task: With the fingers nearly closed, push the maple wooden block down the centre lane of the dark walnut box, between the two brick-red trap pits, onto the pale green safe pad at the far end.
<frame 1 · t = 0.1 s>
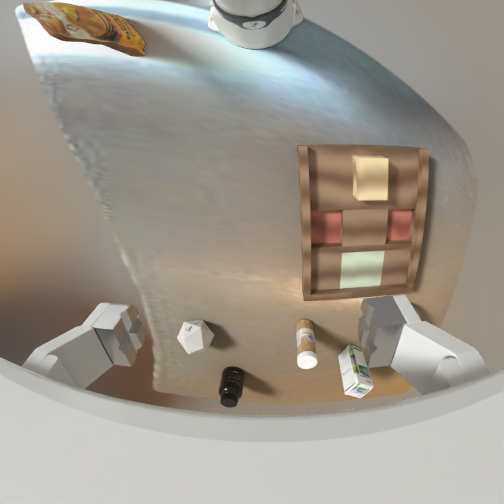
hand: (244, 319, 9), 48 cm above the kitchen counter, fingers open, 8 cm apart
sprinkles bottle: (304, 324, 69), on the kitchen counter
syrup box: (350, 352, 73), on the kitchen counter
pancake mix bag: (125, 38, 42), on the kitchen counter
supplement bottle: (233, 372, 80), on the kitchen counter
maple block: (367, 175, 49), point 2 cm above the kitchen counter, touching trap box
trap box: (362, 221, 56), on the kitchen counter
die: (199, 326, 72), on the kitchen counter
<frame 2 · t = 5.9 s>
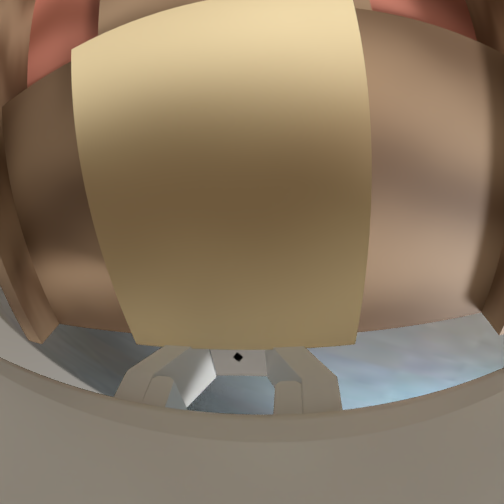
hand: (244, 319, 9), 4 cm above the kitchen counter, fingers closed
maple block: (240, 165, 9), point 3 cm above the kitchen counter
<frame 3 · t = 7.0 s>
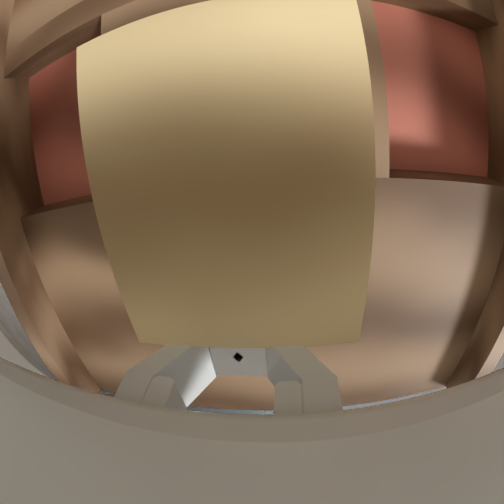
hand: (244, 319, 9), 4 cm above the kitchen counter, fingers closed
maple block: (243, 164, 9), point 3 cm above the kitchen counter, touching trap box
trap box: (243, 90, 10), on the kitchen counter
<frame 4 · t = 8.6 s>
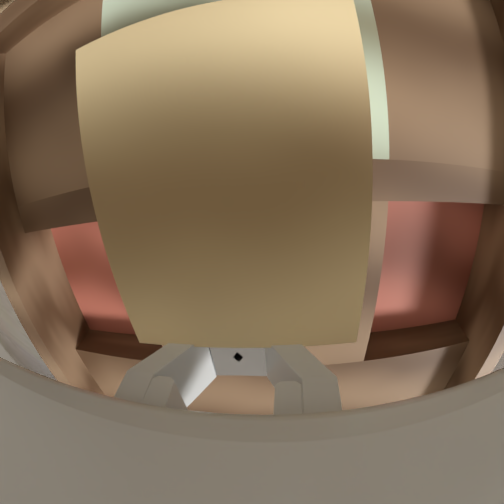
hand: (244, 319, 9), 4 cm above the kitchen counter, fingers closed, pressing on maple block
maple block: (242, 165, 9), point 3 cm above the kitchen counter, touching gripper, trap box
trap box: (261, 281, 14), on the kitchen counter
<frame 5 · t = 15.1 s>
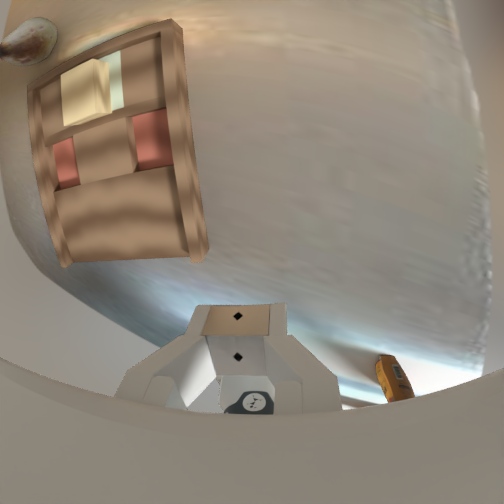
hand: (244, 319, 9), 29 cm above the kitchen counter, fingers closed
pancake mix bag: (393, 370, 50), on the kitchen counter
fruit: (47, 44, 27), on the kitchen counter
maple block: (93, 93, 29), point 2 cm above the kitchen counter, touching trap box
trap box: (109, 153, 35), on the kitchen counter
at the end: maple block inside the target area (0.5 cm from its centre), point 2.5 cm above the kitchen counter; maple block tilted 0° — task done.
